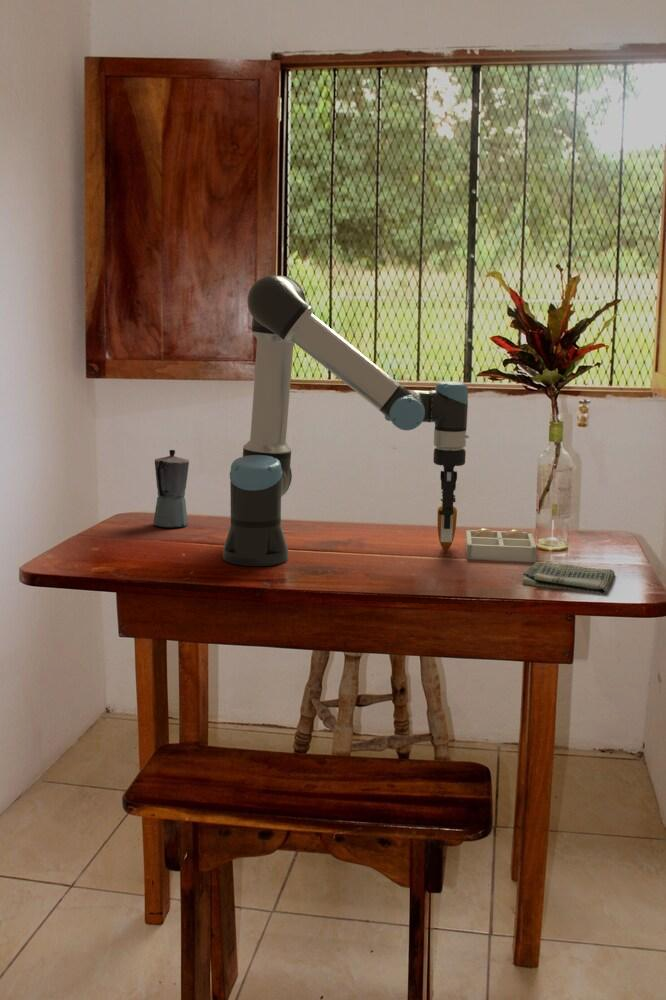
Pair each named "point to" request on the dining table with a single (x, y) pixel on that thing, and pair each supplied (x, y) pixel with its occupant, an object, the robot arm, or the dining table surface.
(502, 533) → the carton
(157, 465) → the moka pot
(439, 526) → the carrot
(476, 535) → the brown egg left
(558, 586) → the dish towel
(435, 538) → the dining table surface
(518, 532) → the brown egg right
